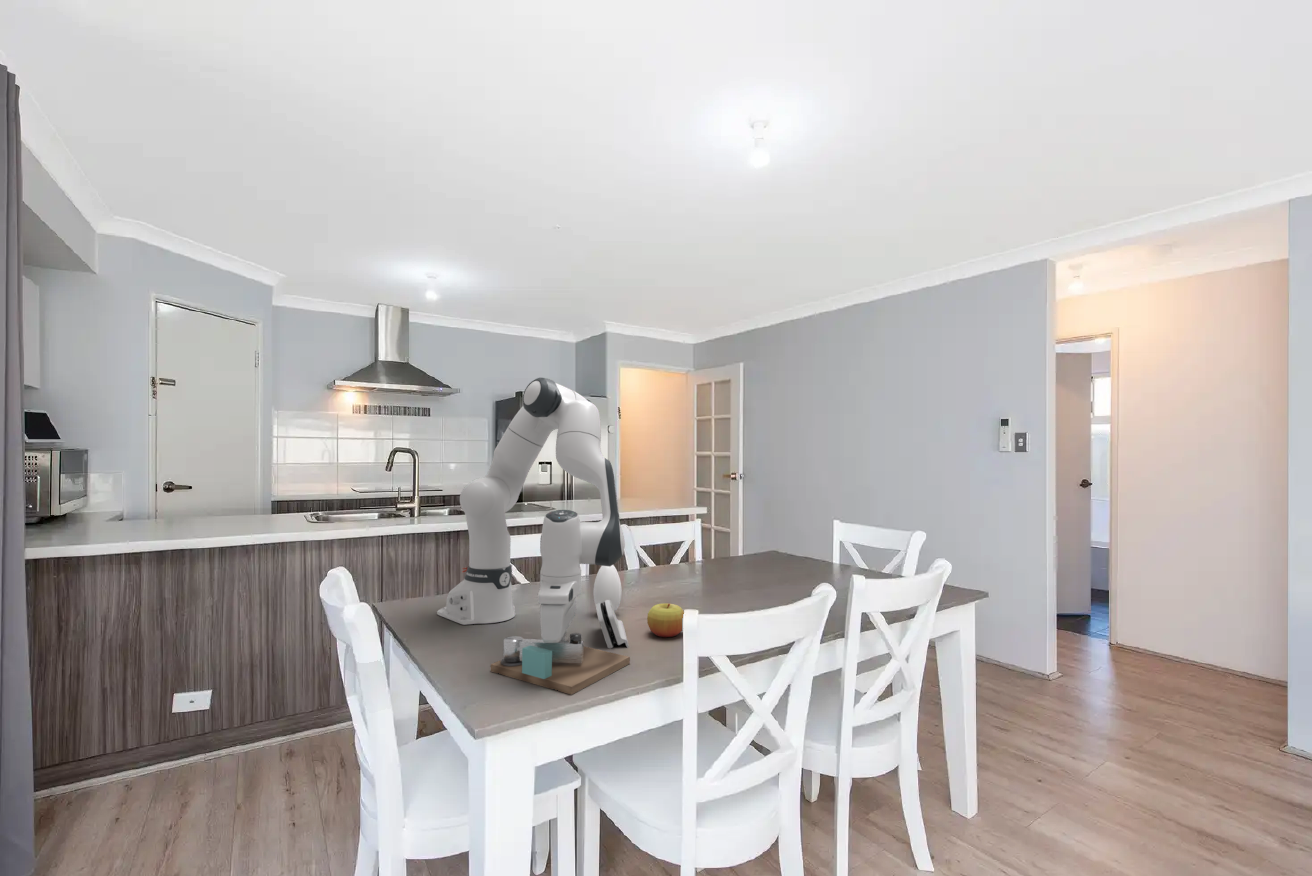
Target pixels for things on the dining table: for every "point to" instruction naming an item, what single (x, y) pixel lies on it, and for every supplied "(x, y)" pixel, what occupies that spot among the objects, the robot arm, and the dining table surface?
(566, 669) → the wooden cutting board
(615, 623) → the white slotted block
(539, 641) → the lock bar
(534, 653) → the block
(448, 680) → the dining table surface
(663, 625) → the apple
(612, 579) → the white tall oval piece
